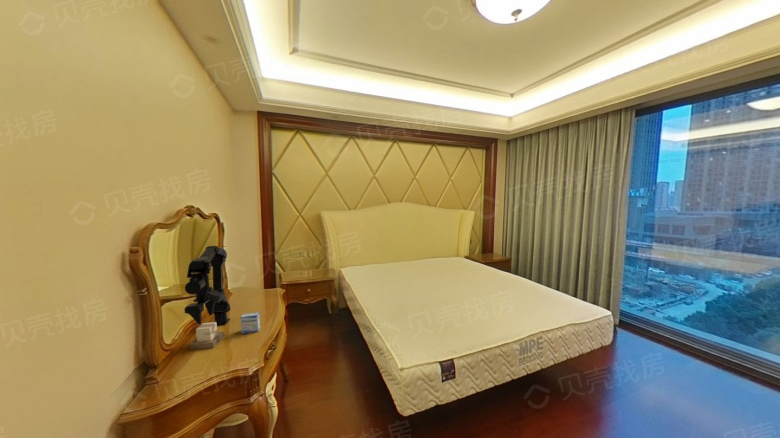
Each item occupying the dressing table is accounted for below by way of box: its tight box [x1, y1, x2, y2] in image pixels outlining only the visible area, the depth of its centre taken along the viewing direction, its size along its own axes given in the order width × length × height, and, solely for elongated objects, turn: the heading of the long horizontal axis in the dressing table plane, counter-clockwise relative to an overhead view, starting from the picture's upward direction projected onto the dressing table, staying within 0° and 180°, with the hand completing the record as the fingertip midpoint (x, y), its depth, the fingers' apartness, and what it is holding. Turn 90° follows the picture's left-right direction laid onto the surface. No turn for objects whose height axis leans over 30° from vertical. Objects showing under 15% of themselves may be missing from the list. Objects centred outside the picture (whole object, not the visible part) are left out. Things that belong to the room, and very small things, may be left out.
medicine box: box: [240, 311, 261, 335], centre depth 140 cm, size 8×4×9 cm, turn 105°
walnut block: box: [189, 331, 225, 351], centre depth 130 cm, size 10×10×3 cm
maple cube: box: [195, 321, 218, 342], centre depth 129 cm, size 6×6×6 cm
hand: (205, 319), depth 129 cm, fingers open, 9 cm apart
